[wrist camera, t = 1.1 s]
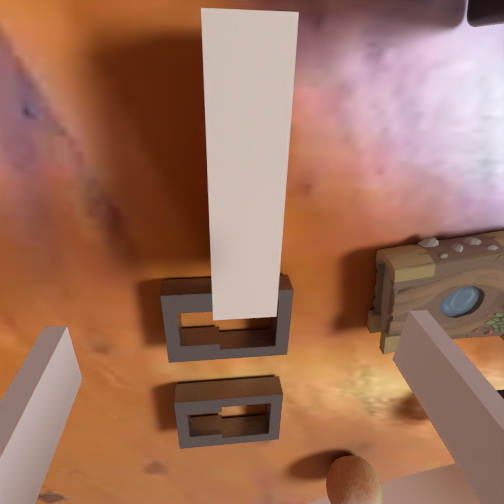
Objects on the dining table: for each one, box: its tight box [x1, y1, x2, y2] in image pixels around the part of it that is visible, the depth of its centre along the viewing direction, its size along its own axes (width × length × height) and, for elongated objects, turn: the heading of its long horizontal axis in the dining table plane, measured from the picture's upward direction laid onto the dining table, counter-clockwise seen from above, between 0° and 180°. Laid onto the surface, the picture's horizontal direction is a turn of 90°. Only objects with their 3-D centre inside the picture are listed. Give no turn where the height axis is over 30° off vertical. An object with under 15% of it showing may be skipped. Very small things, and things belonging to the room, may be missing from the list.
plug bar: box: [201, 8, 299, 320], centre depth 24 cm, size 18×4×8 cm, turn 179°
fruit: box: [326, 456, 382, 504], centre depth 47 cm, size 8×7×8 cm
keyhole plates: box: [160, 275, 293, 449], centre depth 37 cm, size 22×12×2 cm, turn 179°
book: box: [367, 230, 504, 355], centre depth 34 cm, size 15×11×5 cm
